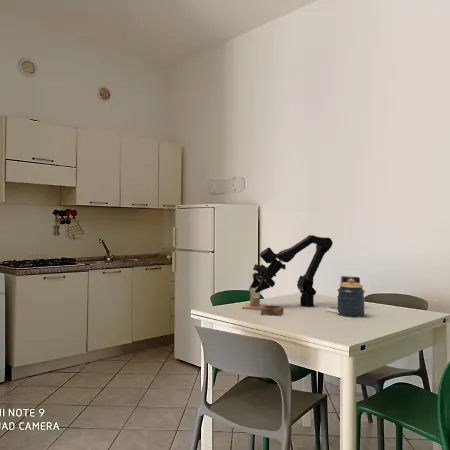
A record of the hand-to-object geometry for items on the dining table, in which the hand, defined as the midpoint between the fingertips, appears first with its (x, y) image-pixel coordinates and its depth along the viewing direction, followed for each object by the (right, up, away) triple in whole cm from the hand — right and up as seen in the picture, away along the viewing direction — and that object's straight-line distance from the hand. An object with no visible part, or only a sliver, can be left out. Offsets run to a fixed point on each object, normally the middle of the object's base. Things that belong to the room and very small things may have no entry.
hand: (252, 291), depth 228 cm
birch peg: (+1, -8, 0) cm, 8 cm away
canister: (+47, -10, -13) cm, 50 cm away
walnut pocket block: (+9, -9, -14) cm, 19 cm away
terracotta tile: (+1, -9, 0) cm, 9 cm away
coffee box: (+53, -10, +8) cm, 54 cm away
